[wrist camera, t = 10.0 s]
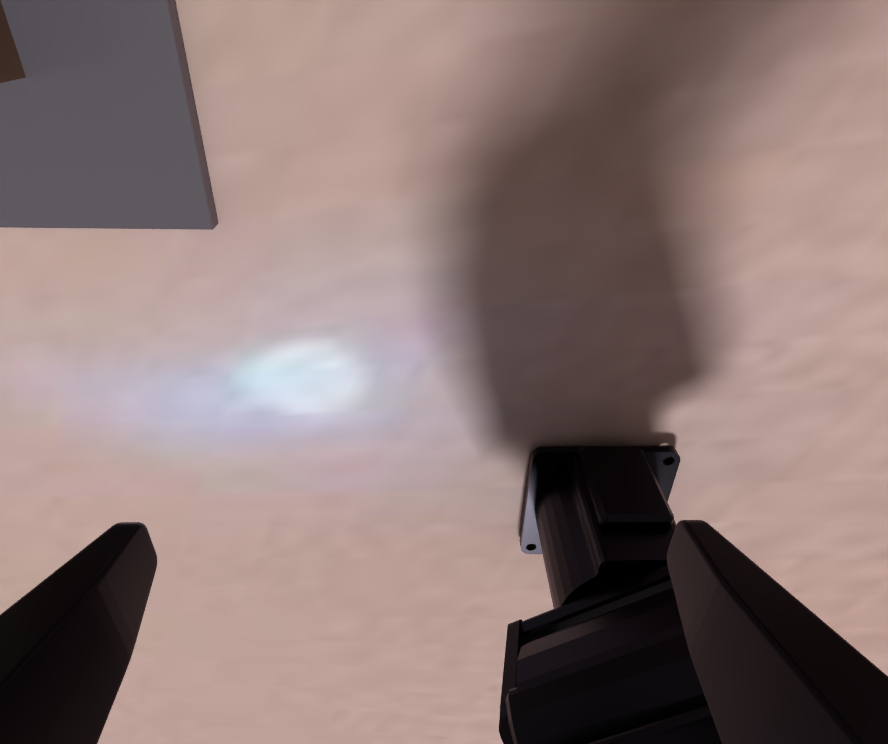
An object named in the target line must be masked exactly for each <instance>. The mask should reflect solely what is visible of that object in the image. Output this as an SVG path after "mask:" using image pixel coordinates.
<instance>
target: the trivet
mask: <svg viewBox="0 0 888 744" xmlns="http://www.w3.org/2000/svg"><path fill="white" fill-rule="evenodd" d="M1 3H2V6H3V9H4V12H5V15H6V18H7V21H8V24H9V27H10V30H11V33H12V36H13V39H14V42H15V45H16V48H17V51H18V54H19V57H20V60H21V63H22V66H23V70H24V73H25V76H26V78H21V79H17V80H12V81H7V82H3V83H0V227H23V228H121V229H214V228H215V226H216V225H217V224H218V220H217V215H216V210H215V204H214V199H213V194H212V189H211V184H210V179H209V173H208V168H207V163H206V158H205V153H204V148H203V143H202V137H201V132H200V127H199V122H198V117H197V112H196V106H195V101H194V96H193V91H192V86H191V81H190V76H189V70H188V65H187V60H186V55H185V50H184V45H183V39H182V34H181V29H180V24H179V19H178V14H177V9H176V3H175V0H1Z"/></svg>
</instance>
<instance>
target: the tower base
mask: <svg viewBox="0 0 888 744" xmlns="http://www.w3.org/2000/svg"><path fill="white" fill-rule="evenodd" d="M21 78H26V76H25V73H24V70H23V66H22V63H21V60H20V57H19V54H18V51H17V48H16V45H15V42H14V39H13V36H12V33H11V30H10V27H9V24H8V21H7V18H6V15H5V12H4V9H3V6H2V3H1V0H0V83H3V82H7V81H12V80H17V79H21Z"/></svg>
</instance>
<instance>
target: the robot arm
mask: <svg viewBox="0 0 888 744" xmlns="http://www.w3.org/2000/svg"><path fill="white" fill-rule="evenodd" d="M541 457H547V458H545V459H542V460H541V459H540V458H541ZM667 457H670V458H668V459H665V458H667ZM664 459H665V460H664ZM679 463H680V457H679V455H678V453H677V451H676V449H675V448H673V447H669V446H543V447H538V448H536V449H535V450H534V451H533V452H532V454H531V458H530V466H529V473H528V481H527V489H526V497H525V504H524V512H523V520H522V528H521V535H520V545H521V550H522V551H523V552H524V553H526V554H543V557H544V562H545V567H546V572H547V577H548V582H549V587H550V592H551V597H552V602H553V607H554V609H553V610H550V611H547V612H545V613H542V614H540V615H537V616H535V617H532V618H530V619H527V620H525V621H522V620H518V621H515V622H513V623H510V624H508V629H507V640H506V651H505V661H504V672H503V683H502V693H501V704H500V720H499V732H500V736H501V739H502V741H503V743H504V744H888V676H887V675H886V674H884V673H883V672H882V671H881V670H880V669H879V668H877V667H876V666H875V665H874V664H873V663H871V662H870V661H869V660H868V659H867V658H866V657H864V656H863V655H862V654H861V653H860V652H859V651H857V650H856V649H855V648H854V647H853V646H851V645H850V644H849V643H848V642H847V641H846V640H844V639H843V638H842V637H841V636H840V635H839V634H837V633H836V632H835V631H834V630H833V629H831V628H830V627H829V626H828V625H827V624H826V623H824V622H823V621H822V620H821V619H820V618H819V617H817V616H816V615H815V614H814V613H813V612H812V611H810V610H809V609H808V608H807V607H806V606H804V605H803V604H802V603H801V602H800V601H799V600H797V599H796V598H795V597H794V596H793V595H792V594H790V593H789V592H788V591H787V590H786V589H784V588H783V587H782V586H781V585H780V584H779V583H777V582H776V581H775V580H774V579H773V578H772V577H770V576H769V575H768V574H767V573H766V572H764V571H763V570H762V569H761V568H760V567H759V566H757V565H756V564H755V563H754V562H753V561H752V560H750V559H749V558H748V557H747V556H746V555H744V554H743V553H742V552H741V551H740V550H739V549H737V548H736V547H735V546H734V545H733V544H732V543H730V542H729V541H728V540H727V539H726V538H724V537H723V536H722V535H721V534H720V533H719V532H717V531H716V530H715V529H714V528H713V527H712V526H710V525H709V524H708V523H706V522H705V521H702V520H682V521H680V522H678V524H677V525H676V523H675V521H674V516H673V513H672V511H671V509H670V507H669V505H668V503H667V501H668V498H669V495H670V492H671V488H672V485H673V482H674V479H675V476H676V472H677V469H678V466H679ZM531 543H532V544H531ZM156 567H157V555H156V552H155V549H154V546H153V544H152V541H151V538H150V535H149V533H148V530H147V528H146V526H145V525H144V524H143V523H140V522H122V523H117V524H115V525H113V526H112V527H111V528H109V529H108V530H107V531H106V532H104V533H103V534H102V535H101V536H99V537H98V538H97V539H95V540H94V541H93V542H92V543H90V544H89V545H88V546H87V547H85V548H84V549H83V550H82V551H80V552H79V553H78V554H77V555H75V556H74V557H73V558H71V559H70V560H69V561H68V562H66V563H65V564H64V565H63V566H61V567H60V568H59V569H58V570H56V571H55V572H54V573H53V574H51V575H50V576H49V577H47V578H46V579H45V580H44V581H42V582H41V583H40V584H39V585H37V586H36V587H35V588H34V589H32V590H31V591H30V592H29V593H27V594H26V595H25V596H23V597H22V598H21V599H20V600H18V601H17V602H16V603H15V604H13V605H12V606H11V607H10V608H8V609H7V610H6V611H5V612H3V613H2V614H1V615H0V744H97V743H98V740H99V738H100V735H101V733H102V730H103V728H104V725H105V723H106V720H107V718H108V715H109V713H110V710H111V707H112V705H113V702H114V700H115V697H116V695H117V692H118V690H119V687H120V685H121V682H122V680H123V677H124V675H125V672H126V670H127V667H128V664H129V662H130V659H131V656H132V653H133V649H134V646H135V643H136V639H137V636H138V632H139V629H140V625H141V621H142V618H143V614H144V611H145V607H146V604H147V600H148V596H149V593H150V589H151V586H152V582H153V579H154V575H155V571H156Z"/></svg>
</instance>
